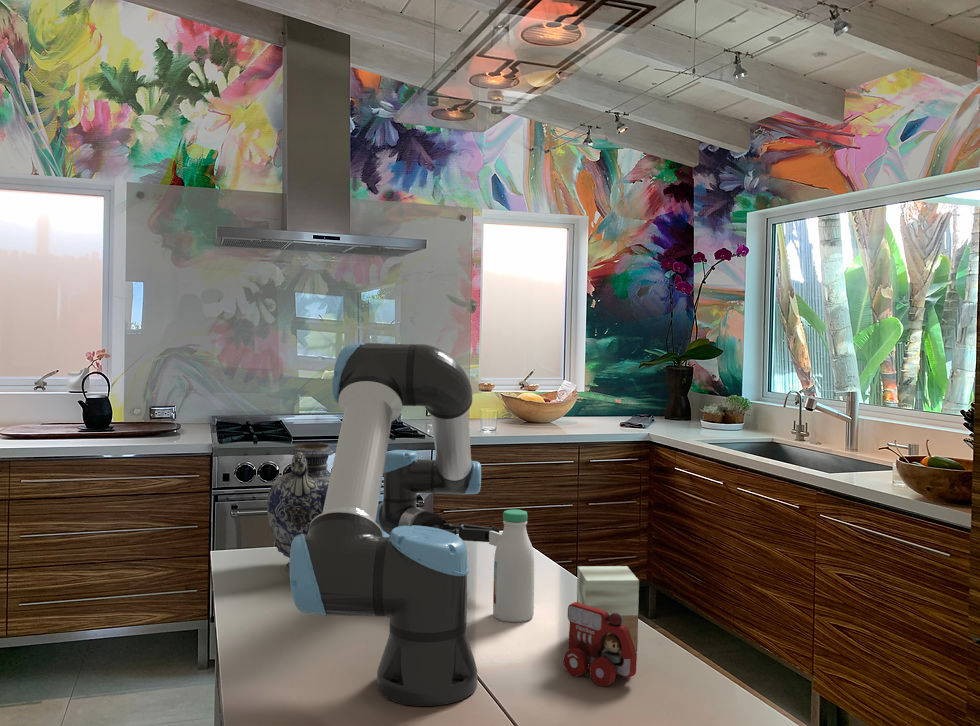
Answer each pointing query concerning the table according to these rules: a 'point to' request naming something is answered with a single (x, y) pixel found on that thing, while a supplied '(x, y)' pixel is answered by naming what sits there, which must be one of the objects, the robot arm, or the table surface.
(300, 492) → the decorative vase
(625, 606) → the tower stack
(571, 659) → the toy fire truck
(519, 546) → the milk bottle
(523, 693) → the table surface
